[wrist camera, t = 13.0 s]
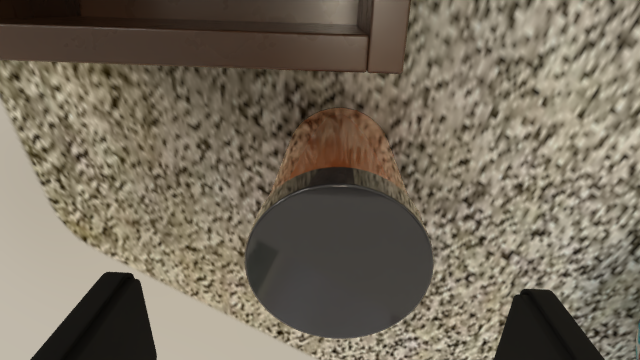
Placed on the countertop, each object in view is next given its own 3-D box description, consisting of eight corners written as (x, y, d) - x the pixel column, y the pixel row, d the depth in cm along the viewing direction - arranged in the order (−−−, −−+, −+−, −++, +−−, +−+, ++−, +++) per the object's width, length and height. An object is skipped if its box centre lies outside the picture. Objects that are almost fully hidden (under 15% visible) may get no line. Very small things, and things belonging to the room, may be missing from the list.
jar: (264, 136, 21) (206, 234, 12) (364, 84, 19) (385, 149, 10) (317, 221, 23) (302, 360, 14) (410, 179, 21) (462, 303, 12)
